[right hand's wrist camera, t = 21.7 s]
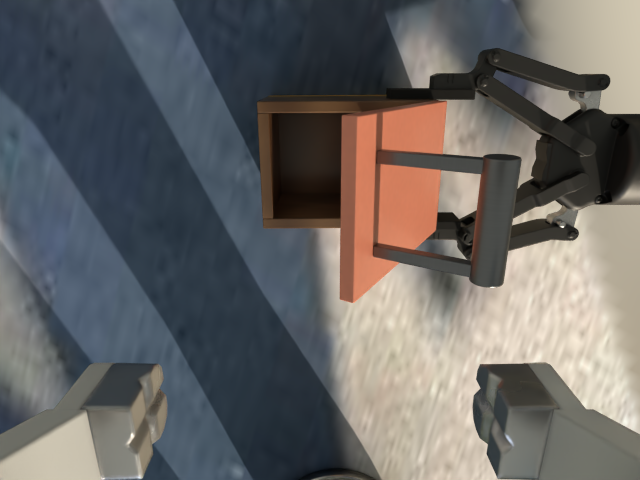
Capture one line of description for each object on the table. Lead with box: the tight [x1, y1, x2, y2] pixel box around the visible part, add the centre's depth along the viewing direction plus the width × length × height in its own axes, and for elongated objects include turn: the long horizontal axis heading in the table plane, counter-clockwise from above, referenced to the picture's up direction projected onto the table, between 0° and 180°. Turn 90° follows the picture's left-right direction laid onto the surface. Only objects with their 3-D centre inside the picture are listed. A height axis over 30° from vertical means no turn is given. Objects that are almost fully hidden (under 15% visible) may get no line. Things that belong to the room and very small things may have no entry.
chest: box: [257, 95, 439, 228], centre depth 40 cm, size 14×10×9 cm
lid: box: [340, 100, 521, 303], centre depth 28 cm, size 14×10×8 cm
